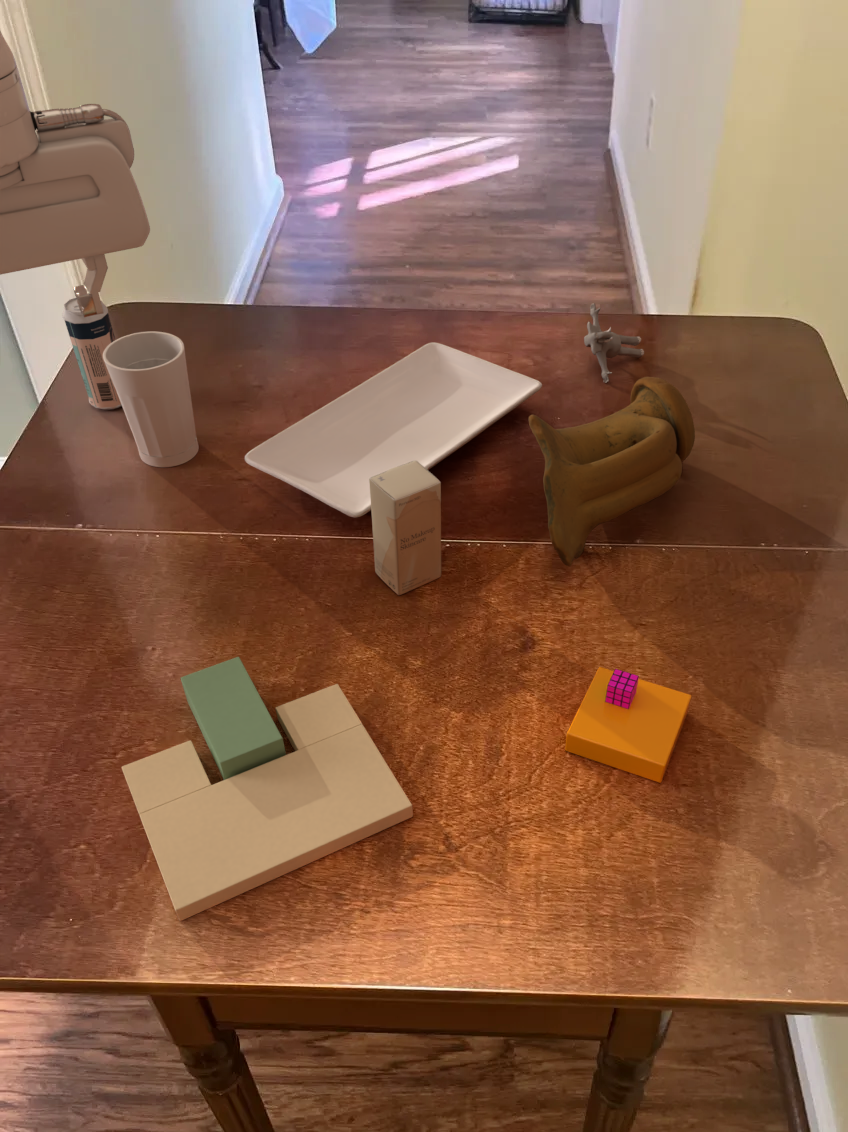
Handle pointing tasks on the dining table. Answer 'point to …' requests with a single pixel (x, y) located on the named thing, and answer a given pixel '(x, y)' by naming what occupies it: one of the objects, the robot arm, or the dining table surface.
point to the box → (406, 526)
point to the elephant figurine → (608, 343)
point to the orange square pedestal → (628, 723)
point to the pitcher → (612, 462)
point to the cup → (154, 395)
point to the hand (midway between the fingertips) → (26, 326)
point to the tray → (392, 424)
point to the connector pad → (232, 718)
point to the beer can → (92, 353)
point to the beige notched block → (265, 805)
